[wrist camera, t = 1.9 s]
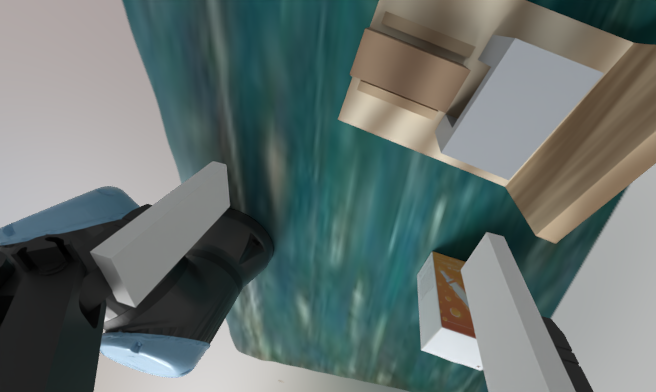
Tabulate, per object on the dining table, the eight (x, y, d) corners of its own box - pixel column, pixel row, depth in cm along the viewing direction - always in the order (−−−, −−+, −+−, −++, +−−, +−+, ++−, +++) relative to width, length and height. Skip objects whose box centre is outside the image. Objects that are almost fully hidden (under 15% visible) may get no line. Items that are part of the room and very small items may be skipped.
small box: (482, 265, 41) (510, 350, 30) (462, 289, 44) (481, 372, 34) (431, 249, 41) (441, 327, 31) (415, 274, 45) (420, 351, 35)
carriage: (434, 131, 30) (440, 153, 25) (492, 34, 24) (515, 38, 19) (491, 154, 30) (508, 180, 25) (563, 62, 24) (604, 73, 19)
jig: (339, 116, 33) (319, 148, 25) (396, -48, 24) (394, -84, 16) (517, 187, 33) (555, 243, 25) (645, 50, 24) (776, 66, 15)
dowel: (355, 68, 29) (349, 74, 25) (369, 27, 26) (365, 28, 23) (440, 102, 29) (445, 113, 25) (462, 64, 26) (471, 70, 23)
